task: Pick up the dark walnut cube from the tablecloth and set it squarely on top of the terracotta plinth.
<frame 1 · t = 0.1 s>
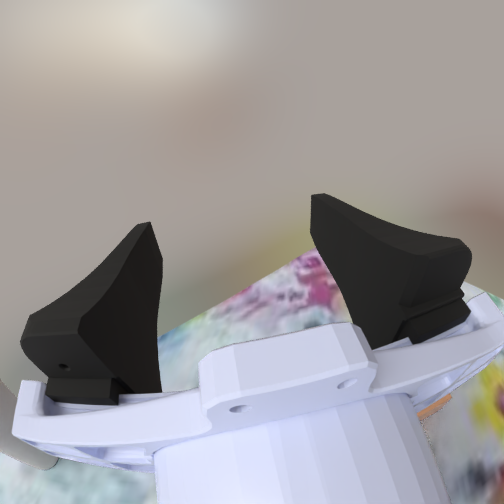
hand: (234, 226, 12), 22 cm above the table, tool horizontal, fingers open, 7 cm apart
coffee cup: (43, 448, 19), on the table
terracotta plinth: (375, 388, 25), on the table
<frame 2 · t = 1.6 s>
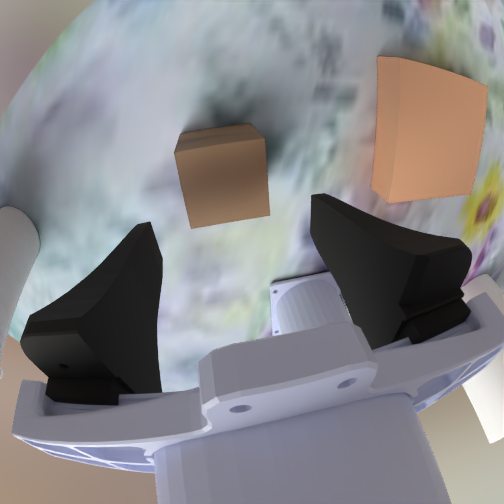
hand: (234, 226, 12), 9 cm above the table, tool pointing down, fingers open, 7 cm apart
walnut block: (219, 159, 20), on the table
coffee cup: (16, 234, 19), on the table
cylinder: (462, 305, 43), on the table
terracotta plinth: (426, 127, 20), on the table
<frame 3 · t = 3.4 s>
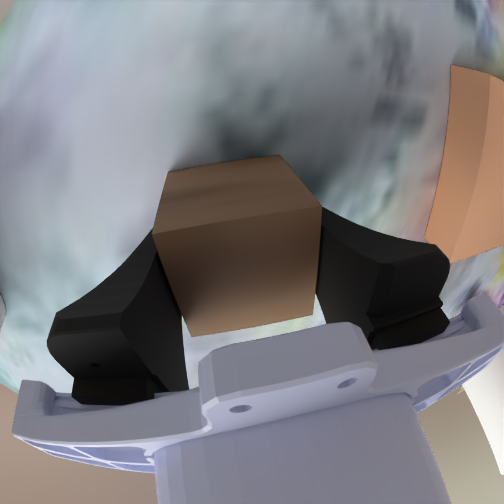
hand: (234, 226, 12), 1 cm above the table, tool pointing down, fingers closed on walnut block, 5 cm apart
walnut block: (230, 211, 13), on the table, touching gripper
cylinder: (482, 334, 37), on the table
terracotta plinth: (489, 160, 13), on the table
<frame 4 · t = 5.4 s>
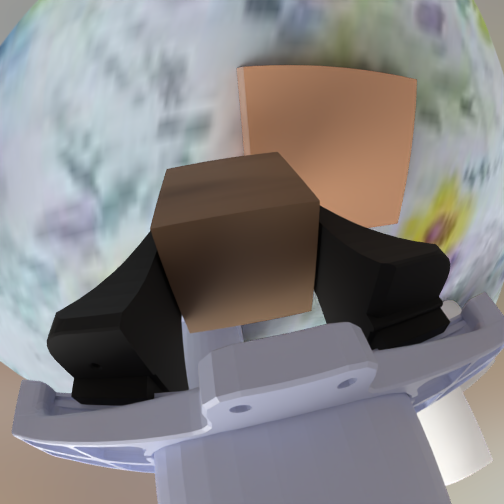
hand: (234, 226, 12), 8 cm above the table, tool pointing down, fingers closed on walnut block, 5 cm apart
walnut block: (229, 207, 13), point 7 cm above the table, touching gripper
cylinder: (422, 332, 42), on the table
terracotta plinth: (324, 144, 19), on the table
when the fingers open (5 cm above the table, at t = 7.4 s): walnut block stays where it is, resting on terracotta plinth.
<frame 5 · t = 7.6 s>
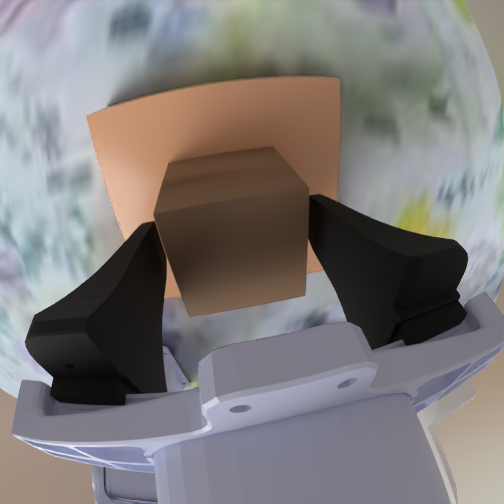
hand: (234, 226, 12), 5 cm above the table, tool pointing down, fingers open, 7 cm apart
walnut block: (227, 199, 14), point 3 cm above the table, touching terracotta plinth
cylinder: (398, 359, 39), on the table
terracotta plinth: (223, 179, 16), on the table
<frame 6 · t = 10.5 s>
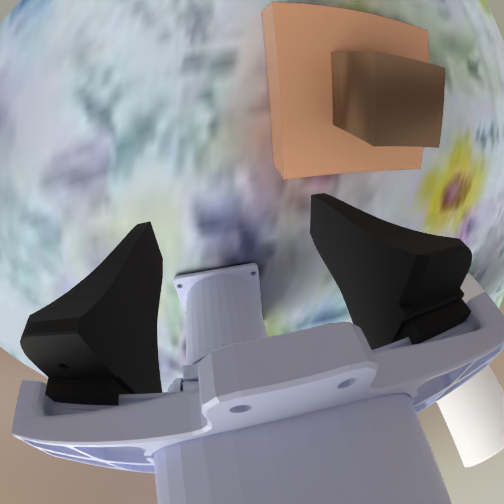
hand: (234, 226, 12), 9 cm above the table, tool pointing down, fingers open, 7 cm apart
walnut block: (365, 90, 15), point 3 cm above the table, touching terracotta plinth
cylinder: (439, 308, 40), on the table
terracotta plinth: (345, 87, 17), on the table
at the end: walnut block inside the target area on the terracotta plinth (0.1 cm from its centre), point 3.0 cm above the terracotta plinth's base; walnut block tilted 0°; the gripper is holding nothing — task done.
